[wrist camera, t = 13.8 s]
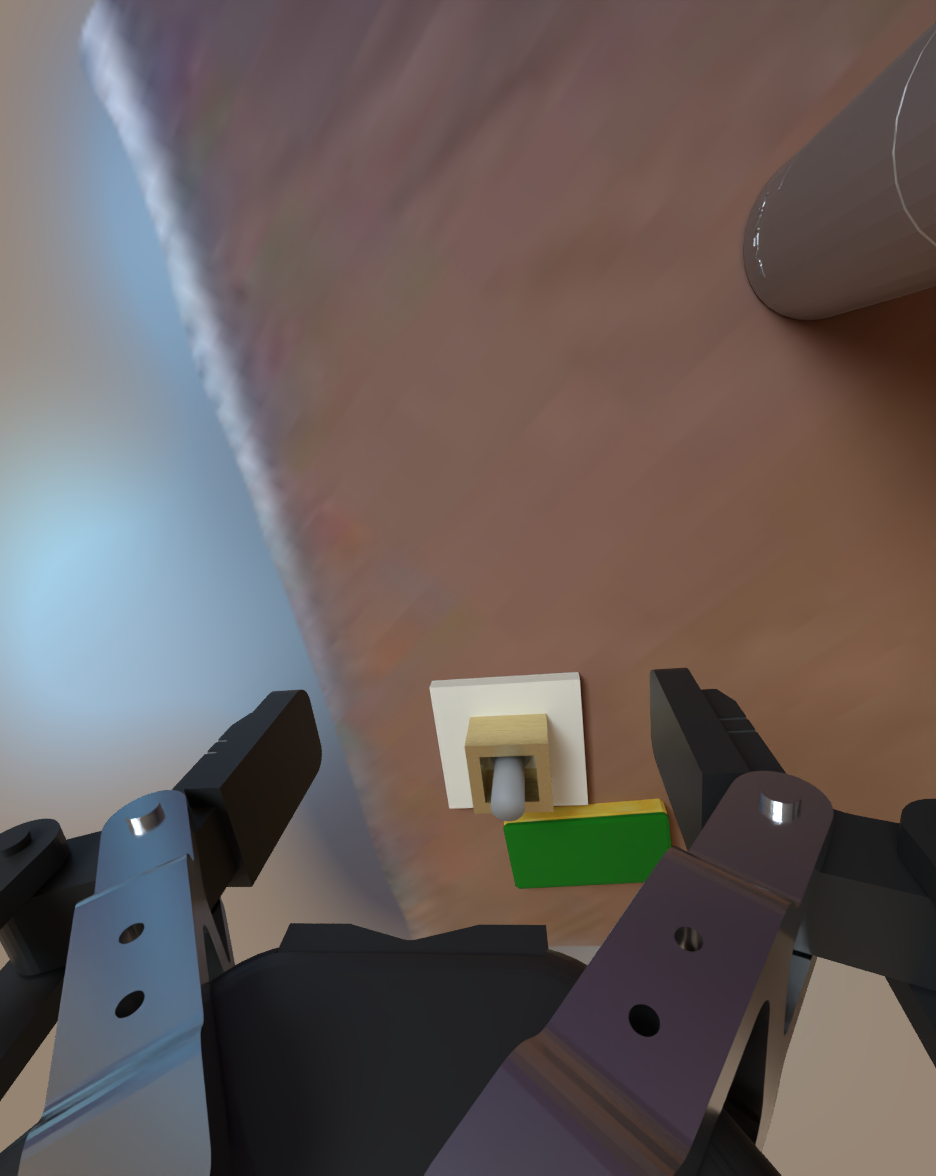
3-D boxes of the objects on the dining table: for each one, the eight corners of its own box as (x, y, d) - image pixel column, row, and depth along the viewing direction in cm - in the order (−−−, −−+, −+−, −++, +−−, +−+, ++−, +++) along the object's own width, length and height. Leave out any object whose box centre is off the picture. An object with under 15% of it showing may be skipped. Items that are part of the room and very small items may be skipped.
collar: (546, 713, 43) (547, 743, 39) (551, 777, 45) (553, 811, 41) (470, 717, 44) (464, 746, 40) (478, 779, 45) (474, 813, 42)
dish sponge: (504, 807, 48) (502, 827, 46) (661, 795, 46) (668, 815, 44) (516, 868, 50) (516, 890, 48) (668, 859, 48) (674, 881, 46)
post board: (578, 672, 43) (589, 731, 35) (586, 795, 46) (598, 873, 39) (432, 680, 44) (411, 738, 36) (451, 798, 48) (436, 874, 40)
